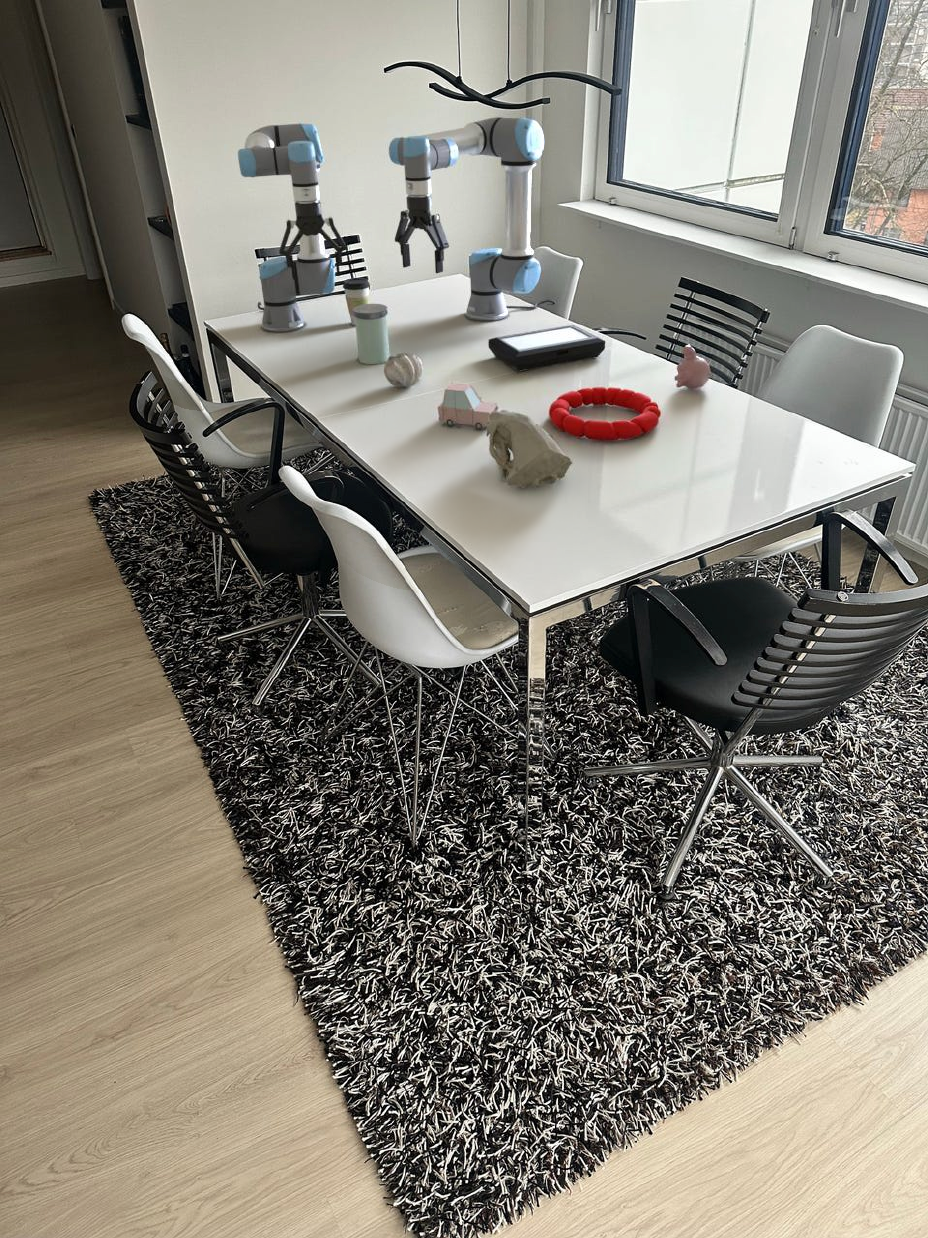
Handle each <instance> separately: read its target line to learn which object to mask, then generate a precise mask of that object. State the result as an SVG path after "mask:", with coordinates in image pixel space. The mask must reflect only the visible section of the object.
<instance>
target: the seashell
mask: <svg viewBox="0 0 928 1238" xmlns="http://www.w3.org/2000/svg"><path fill="white" fill-rule="evenodd" d="M383 368H384V369H383V374H384V376H385V378H386V380H387V381H388V383H389V384H391V385H392V386H394V387H397V388H399V387H402V386H403V387H411V386H414V385H415V384H417V382H418V381H419V380H420V378H421V377H422V375H423V372H424V371H423V370H424V369H423V363H422V361H421V358H420V357H419V356H415V354H414V353H412V354H411V353H404V352H401V353H400V352H398V353H396V355H389V358H388V359H387V361H386V362H384V367H383Z"/></svg>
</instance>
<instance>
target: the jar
mask: <svg viewBox="0 0 928 1238" xmlns="http://www.w3.org/2000/svg"><path fill="white" fill-rule="evenodd" d="M387 319H388V317H387V315H386V316H384V317H381V318H376V319H359V318H356V317H355V323H356V325H355V331H356V332H355V333H356V342H357V351H358V361H359V362H360V363H361V364H365V365H380V364H385V363H386V361H387V359H388V358H389V357H390V348H389V347H390V344H389V333H388V320H387Z"/></svg>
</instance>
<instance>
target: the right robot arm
mask: <svg viewBox="0 0 928 1238" xmlns="http://www.w3.org/2000/svg"><path fill="white" fill-rule="evenodd" d="M544 147H545V136H544V132H543V129H542V127H541V126H540V124H539V122H537V121H536V120H534V119H531V118H526V117H501V116H494V117H490V118H486V119H482V120H477V121H473V122H468V123H467V124H465V126H463V127H460V128H455V129H449V130H444V131H439V132H432V133H427V134H422V135H411V136H407V137H404V136H401V137H394V138H393V139H392V140H391V141H390V142H389V146H388V156H389V159H390V161H391V162H392V163H393V164H394V165H399V166H404V178H405V193H406V195H407V196H406V198H405V199H406V209H405V210H401V211H400V219H399V222H398V226H397V230H396V233H395V236H394V242H395V243H398V245H399V246H400V255H401V256H402V257H401V258H402V268H408V267H411V253H410V249H411V248H410V243H409V240H410V238H411V237H412V235H413V233H414V231H415V230H416V229H418V230H423V231H424V232H425V233H426V234H427V236H428V238H429V239H430V241H431V243H432V244H433V247H434V248H435V250H434V267H435V268H434V271H435V274H441V273H443V272H444V261H445V250H446V249H448V248H450V244H449V241H448V239H447V236H446V233H445V231H444V228H443V225H442V223H441V218H440V216H441V215H440V214H439V213H436V214H432V212H431V211H432V209H433V202H432V201H433V200H432V198H433V197H432V195H431V194H432V180H431V178H432V177H431V172H432V171H435V170H440V169H447V168H449V167H452V166H454V165H455V164H457V162H458V159H459V156H462V155H463V156H464V155H468V156H469V155H470V156H472V157H473V156H490V157H494V158H495V157H496V158H500V166H501V167H502V169H504V172H505V180H504V181H505V187H504V190H505V191H504V193H505V194H504V196H505V197H504V200H505V201H504V202H505V203H504V247H503V248H500V247H491V248H483V249H479V250H475V251H473V252H472V253H471V254H470V257H469V261H470V262H469V277H470V279H469V280H470V296H469V300H468V304H467V308H466V310H465V311H466V318H468V319H469V320H472V321H477V322H493V321H500V320H503V319H506V318H507V317H508V309H516V310H517V309H522V310H534V309H536V308H537V306H539V305H542V304H545V303H551V304H553V305H556V304H557V302H556V301H554V300H553V299H543V300H541V301H538V302H536V303H534V304H533V306H526V305H507V304H506V301H505V298H504V293H503V291H506V292H511V293H515V294H529V293H530V292H532V291H533V290H534V289H535V287H536V286H537V284H538V283H539V281H540V276H541V264H540V262H539V260H537V259H536V258H535V251H534V250H533V249H532V248H531V203H532V201H531V200H532V199H531V198H532V170H533V169H534V168H535V167H536V165H537V160H539V159H540V158H541V157H542V154H543V151H544V149H545V148H544Z"/></svg>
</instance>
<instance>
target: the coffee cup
mask: <svg viewBox="0 0 928 1238" xmlns="http://www.w3.org/2000/svg"><path fill="white" fill-rule="evenodd" d="M370 287H371V283H370V282H369V279H367V278H365V277H351V278H347V279H345V280H344V281H343V285H342V288H343V290H344V297H345V301H346V305H347V310H348V314H349V318H350V323H351V325H353V326H356V323H355V317H354V316H353V308H354V307H356V306H359V305H363V304H370Z"/></svg>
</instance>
